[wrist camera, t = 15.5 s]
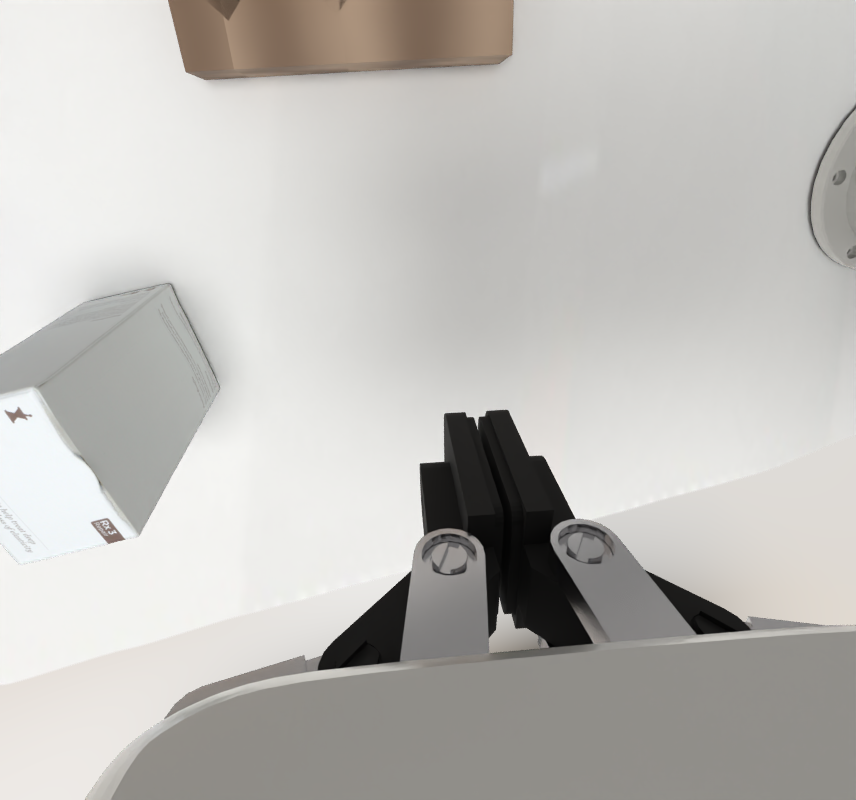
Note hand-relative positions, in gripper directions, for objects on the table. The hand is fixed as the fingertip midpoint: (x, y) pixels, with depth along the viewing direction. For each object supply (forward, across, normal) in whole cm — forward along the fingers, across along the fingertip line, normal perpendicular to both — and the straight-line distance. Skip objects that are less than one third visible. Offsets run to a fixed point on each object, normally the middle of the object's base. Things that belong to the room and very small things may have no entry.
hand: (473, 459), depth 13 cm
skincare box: (+21, +18, +4) cm, 28 cm away
